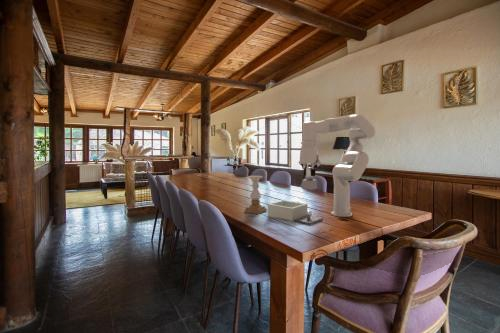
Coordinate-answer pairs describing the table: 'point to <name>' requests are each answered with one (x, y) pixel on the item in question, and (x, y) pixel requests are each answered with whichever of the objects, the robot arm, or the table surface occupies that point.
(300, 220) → the stud base
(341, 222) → the table surface
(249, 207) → the candle holder
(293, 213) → the bin
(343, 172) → the robot arm
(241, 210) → the table surface
